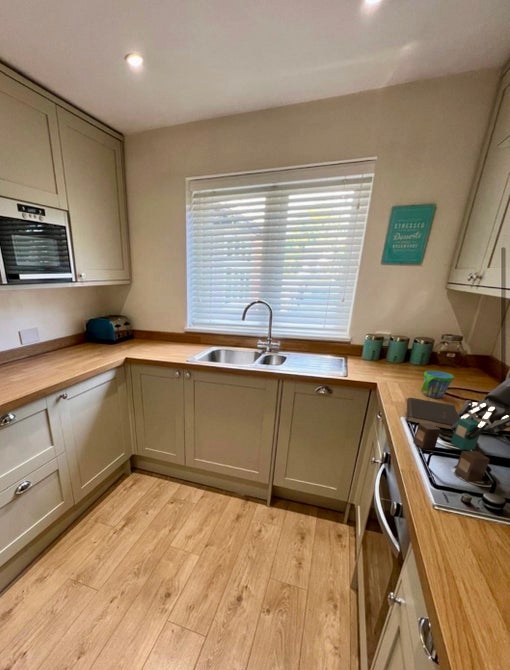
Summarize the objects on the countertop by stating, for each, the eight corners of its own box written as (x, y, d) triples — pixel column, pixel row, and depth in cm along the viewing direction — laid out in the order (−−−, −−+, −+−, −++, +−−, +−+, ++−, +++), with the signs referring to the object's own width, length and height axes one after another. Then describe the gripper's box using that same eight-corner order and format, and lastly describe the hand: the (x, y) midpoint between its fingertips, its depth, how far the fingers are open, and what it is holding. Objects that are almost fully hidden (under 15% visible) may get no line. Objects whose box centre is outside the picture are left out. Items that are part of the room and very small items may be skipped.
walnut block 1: (424, 446, 103) (431, 423, 100) (433, 452, 100) (440, 429, 97) (411, 446, 103) (418, 423, 100) (420, 453, 99) (427, 429, 96)
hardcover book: (452, 410, 131) (454, 405, 131) (460, 432, 113) (462, 426, 112) (406, 402, 139) (408, 397, 138) (406, 421, 120) (407, 415, 120)
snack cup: (430, 401, 140) (437, 379, 136) (409, 393, 149) (414, 371, 145) (456, 398, 145) (464, 376, 141) (434, 390, 154) (440, 369, 150)
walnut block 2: (466, 476, 88) (476, 450, 85) (479, 485, 84) (490, 459, 82) (452, 477, 88) (461, 451, 85) (464, 486, 84) (474, 459, 81)
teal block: (462, 442, 98) (471, 418, 95) (474, 449, 94) (483, 424, 91) (450, 443, 97) (458, 418, 95) (461, 450, 94) (470, 424, 91)
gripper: (545, 412, 86) (488, 454, 89) (494, 393, 99) (445, 431, 102) (535, 393, 83) (477, 437, 86) (484, 377, 97) (434, 415, 100)
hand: (460, 434), depth 94 cm, fingers closed on teal block, 4 cm apart
